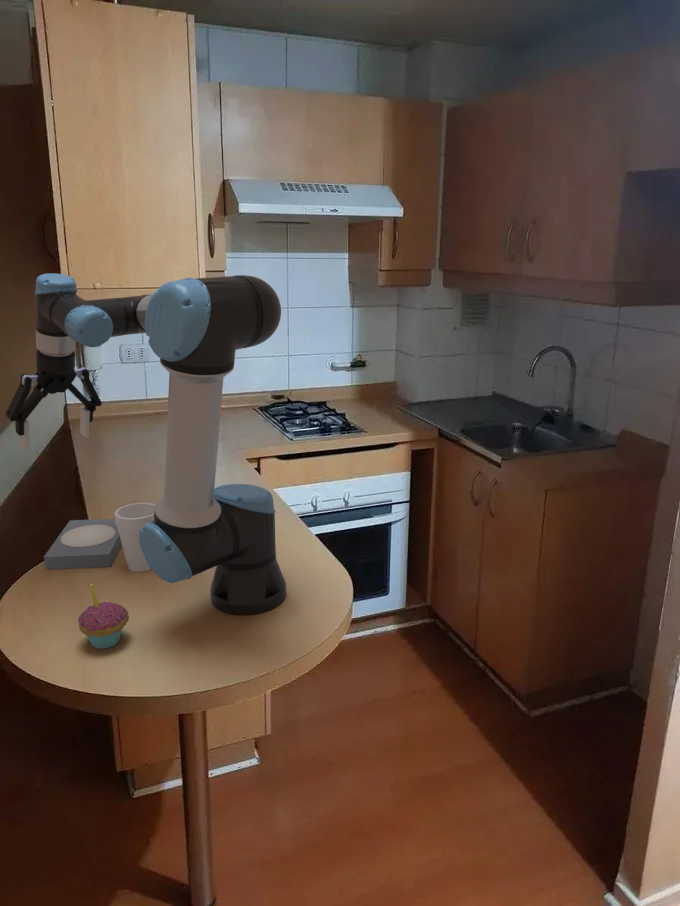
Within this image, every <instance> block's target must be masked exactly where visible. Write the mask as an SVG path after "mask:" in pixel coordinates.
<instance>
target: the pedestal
mask: <svg viewBox="0 0 680 906" xmlns="http://www.w3.org/2000/svg"><path fill="white" fill-rule="evenodd" d="M121 547H122V543H121V539H120V535H119V532H118V528H117V525H116V523H115V518H103V519H102V518H100V519H97V518H96V519H95V518H94V519H73V520H70V519H69V521H68V523H67V524H66V525H65V527H64V528H63V529H62V531H61V532H60V533H59V535H58V536H57V538H56V539H55V540H54V542H53V543H52V545H51V546H50V547H49V549H48V551H47V552H46V553H45V555H44V556H43V561H44V568H45V570H62V569H64V570H65V569H78V568H79V569H82V568H83V569H85V568H87V569H88V568H105V567H106V568H107V567H112V565H113V562H114V561H115V559H116V557H117V555H118V553H119V551H120V550H121Z"/></svg>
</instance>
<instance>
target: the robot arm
mask: <svg viewBox="0 0 680 906" xmlns="http://www.w3.org/2000/svg"><path fill="white" fill-rule="evenodd" d="M77 293H78V289H77V282H76V280H75V279H74V278H73V277H72V276H70V275H67V274H63V273H43V274H40V275H39V276H37V278H36V280H35V291H34V296H35V297H34V299H35V301H34V302H35V347H36V352H35V354H36V355H35V357H36V358H35V365H36V366H35V367H36V372H35V374H32V375H31V374H29V375H27V374H26V373H22V374H20V381H19V384H18V387H17V389H16V391H15V393H14V395H13V397H12V399H11V401H10V404H9V405H8V408H7V410H6V412H5V415H4V416H5V417H6V418H7V419H9V421H11V422H15V423H14V425H15V427H14V428H15V433H16V434H17V435H18V436H19V445H20V447H22V449H24V450H25V451H29V450H30V423H29V422H30V421H28V420H27V419H28V417H29V416H30V415H31V414H32V412H33V411H34V410H35V408H37V406H38V405H39V404H40V403H41V402H42V400H43V399H45V398H46V397H47V396H48V395H49V394H50V395H54V394H57V393H65V392H66V391H67V390H68V391H69V392H71V394H72V395H73V396H74V397H75V398H76V399H77V400H79V402H81V404H82V405H83V406H80V417H79V418H80V419H79V422H80V423H79V425H80V426H79V433H80V435H82V436H83V437H84V438H90V423H92V422H93V420H94V412H96V410H97V407H101V406H102V400H101V399H100V397H99V395H98V393H97V390H96V389H95V387H94V385H93V383H92V381H91V378H90V370H88V369H87V368H86V367H84V366H82V365H80V366H79V367H78V368H77V369H75V367H76V352H75V350H76V342H77V343H78V344H79V343H80V344H81V345H83V346H85V347H88V348H98V347H101V346H102V345H104V344H105V343H106V342H108V341H109V340H110V339H111V338H114V337H121V336H126V335H138V334H145V335H146V336H148V340H147V341H148V344H149V346H150V348H151V350H152V352H153V353H154V354H155V356H157V357H158V358H159V362H160V364H161V366H162V367H163V368H164V369H165V370H166V371H167V372H168V373H169V376H168V377H169V378H168V396H167V417H166V418H167V422H166V441H165V442H166V443H165V460H164V461H165V462H164V463H165V465H164V484H163V485H164V487H163V496H161V497H160V498H158V500H157V501H156V503H154V504H155V508H154V521H153V522H147V523H146V524H145V525H144V526H143V527H141V529H140V532H139V541H140V546H141V549H142V552H143V555H144V557H145V559H146V561H147V563H148V564H149V566H150V568H151V570H152V572H153V573H154V574H155V575H156V576H157V577H158V578H160V579H161V580H162V581H164V582H165V583H169V584H174V583H179V582H181V581H184V580H190V579H191V578H192V577H194V576H197V575H199V574H201V573H203V572H205V571H208V570H210V569H212V568H214V567H216V568H215V571H214V574H213V578H212V581H211V585H210V588H209V589H210V591H209V592H210V601H211V604H212V605H213V606H214V607H215V609H217V610H219V611H221V612H224V613H227V614H231V615H238V616H240V615H241V616H243V615H244V616H246V615H247V616H248V615H255V614H262V613H266V612H268V611H271V610H273V609H274V608H275V609H276V608H277V607H278V606H280V605H281V604H282V603H283V602H284V601H285V599H286V597H287V583H286V580H285V577H284V575H283V572H282V570H281V568H280V565H279V563H278V560H277V553H276V552H277V550H276V549H277V548H276V547H277V546H276V545H277V544H276V522H275V521H276V520H275V519H276V518H275V517H276V516H275V515H276V509H275V506H274V505H275V504H274V497H273V495H272V493H271V492H270V491H269V490H268V489H266V488H264V487H262V486H258V485H253V484H245V483H231V484H224V485H223V484H222V485H219V486H217V487H215V486H216V475H217V473H216V472H217V462H218V450H219V436H220V425H221V413H222V412H221V410H222V401H223V400H222V399H223V389H224V378H225V377H226V376H227V375H229V374H230V373H231V372H233V370H234V369H235V361H236V360H235V358H236V351H238V350H243V349H247V348H251V347H255V346H259V345H260V344H262V343H264V342H266V341H267V340H268V339H270V338H271V337H272V336H273V334H275V332H276V330H277V329H278V327H279V324H280V322H281V316H282V306H281V301H280V298H279V295H278V294H277V292H276V291H275V289H274V288H273V287H272V286H271V285H270V284H269V283H267V282H266V281H265V280H263V279H261V278H260V277H257V276H252V275H245V274H244V275H243V274H242V275H241V274H240V275H239V274H238V275H231V276H216V277H215V276H213V277H198V278H197V277H196V278H193V277H185V278H182V279H179V280H173V281H168V282H165V283H163V284H161V285H160V286H159V288H157V289H156V290H155V291H154V292H153V293H151V294H150V293H149V294H141V295H133V296H122V297H110V298H99V299H88V300H87V299H84V298H82V297H81V296H79V295H77ZM76 377H77V378H78V379H79V381H80V382H81V384H82V386H83V387H84V389H85V391H86V393H87V395H88V397H89V398H90V400H88V398H86V397H85V395H84V394H83V393H81V391H80V390H78V388H77V387H76V386H75V385H74V384H73V382H74V381H75V379H76ZM34 383H36V385H34ZM32 387H33V390H32V391H31V388H32ZM30 392H31V393H30ZM28 395H29V396H28Z"/></svg>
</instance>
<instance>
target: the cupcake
mask: <svg viewBox="0 0 680 906" xmlns="http://www.w3.org/2000/svg"><path fill="white" fill-rule="evenodd" d="M88 582H89V589H90V593H91V596H92V600H93V605H91V606H88V608H85V610H84V611H83V612H81V614H80V615H79V616H78V619H77V623H78V629H79V632H81V633H82V634H83V635H85V636H86V637H87V638H88V641H89V642H90V644H91V646H92V647H93V648H95V649H98V650H99V649H101V650H102V649H103V650H105V649H110V648H112V647H114V646H116V645H117V644H118V643H119V641H120V637H121V635H122V633H121V632H122V630H123V628H124V627H125V626H126V625H127V623H128V621H129V619H130V618H129V617H130V616H129V612H128V610H127V609H126V607H125V606H122V604H119V603H116V602H112V601H110V602H108V601H107V602H106V601H104V602H98V601H99V600H98V597H97V594H96V590H95V587H94V583H92V581H91V580H90V579H89V580H88Z"/></svg>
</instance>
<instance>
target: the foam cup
mask: <svg viewBox="0 0 680 906" xmlns="http://www.w3.org/2000/svg"><path fill="white" fill-rule="evenodd" d="M155 504H156V503H153V502H136V503H135V502H134V503H130V504H126V505H124V506H120V507H119V508H118V509H116V510H115V511H114V519H115V523H116V525H117V528H118V532H119V535H120V539H121V543H122V545H121V547H122V551H123V554H124V558H125V561H126V562H125V563H126V565H127V568H128V569H129V570H130V571H132V572H135V573H137V572H138V573H141V572H142V573H143V572H148V571H151V570H152V569H151V568H150V566H149V564H148V563H147V561H146V559H145V557H144V555H143V552H142V549H141V546H140V541H139V532H140V529H141V527H143V526H144V525H145V524H146V523H147V522H153V521H154V508H155Z"/></svg>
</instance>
